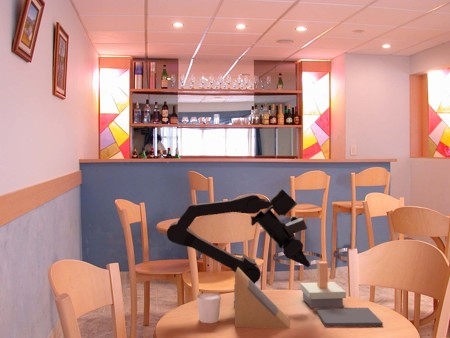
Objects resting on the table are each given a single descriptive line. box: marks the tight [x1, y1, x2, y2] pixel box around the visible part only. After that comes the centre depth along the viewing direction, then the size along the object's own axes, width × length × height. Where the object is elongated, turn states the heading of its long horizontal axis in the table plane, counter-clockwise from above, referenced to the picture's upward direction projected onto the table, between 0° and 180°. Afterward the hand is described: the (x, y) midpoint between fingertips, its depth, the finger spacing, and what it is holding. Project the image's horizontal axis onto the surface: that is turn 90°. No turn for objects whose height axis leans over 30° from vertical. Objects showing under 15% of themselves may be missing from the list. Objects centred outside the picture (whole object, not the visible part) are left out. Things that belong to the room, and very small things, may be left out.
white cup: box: [196, 292, 222, 324], centre depth 140 cm, size 7×7×7 cm
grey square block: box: [302, 291, 344, 309], centre depth 156 cm, size 10×10×4 cm
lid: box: [299, 260, 347, 299], centre depth 156 cm, size 11×11×10 cm
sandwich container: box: [234, 267, 291, 329], centre depth 137 cm, size 9×15×15 cm, turn 84°
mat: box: [314, 307, 384, 328], centre depth 141 cm, size 16×13×1 cm
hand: (306, 262), depth 153 cm, fingers open, 9 cm apart
